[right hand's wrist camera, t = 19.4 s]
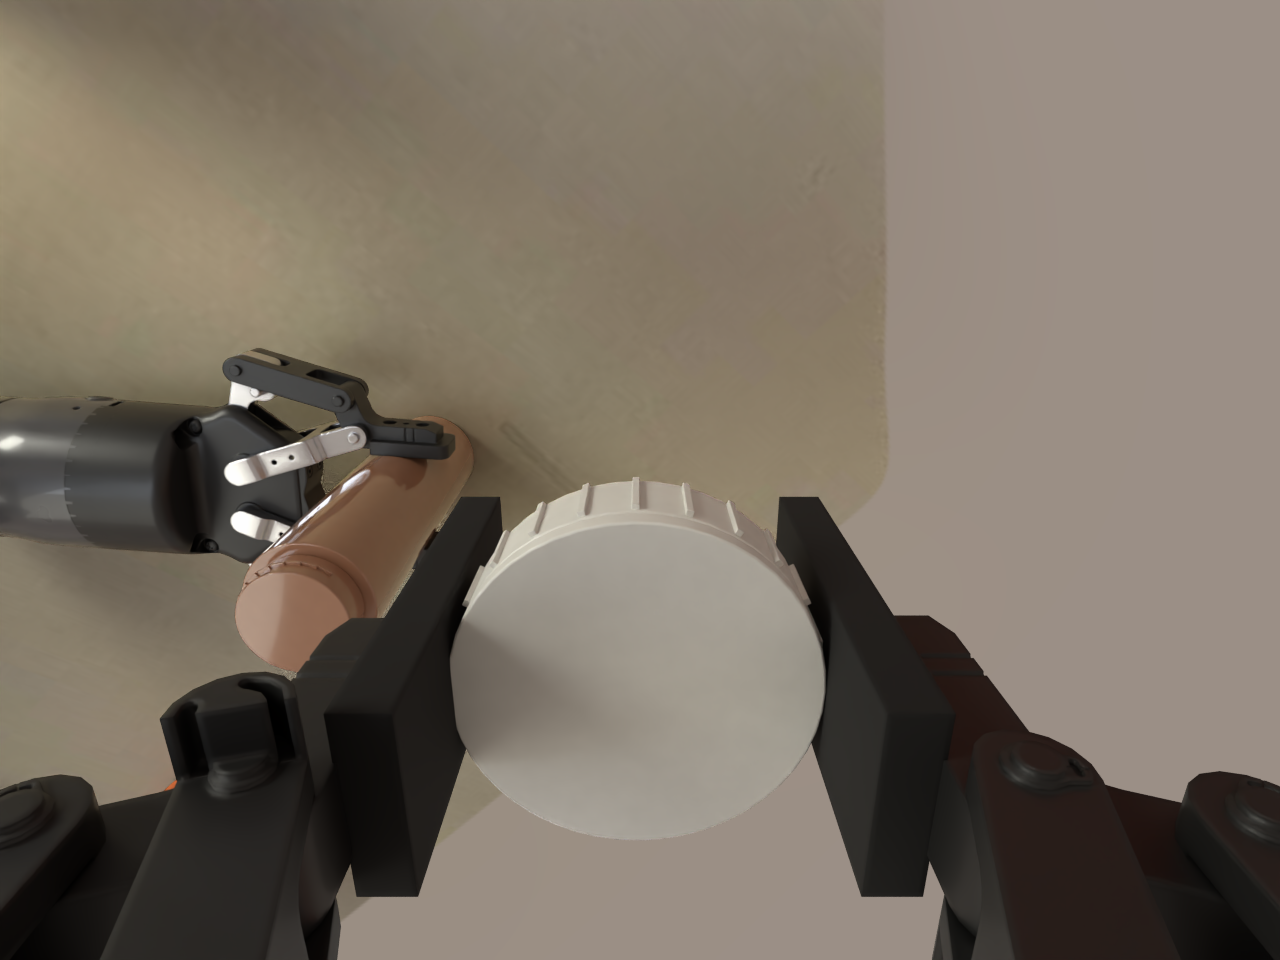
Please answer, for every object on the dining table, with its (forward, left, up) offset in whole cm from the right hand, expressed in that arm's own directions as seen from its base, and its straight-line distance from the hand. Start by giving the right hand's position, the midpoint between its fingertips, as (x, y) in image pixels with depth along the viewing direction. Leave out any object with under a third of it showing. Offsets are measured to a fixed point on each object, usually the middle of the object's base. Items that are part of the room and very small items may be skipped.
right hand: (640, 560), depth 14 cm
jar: (-13, -4, -28) cm, 31 cm away
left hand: (-11, -5, -21) cm, 25 cm away
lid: (0, 0, +4) cm, 4 cm away
